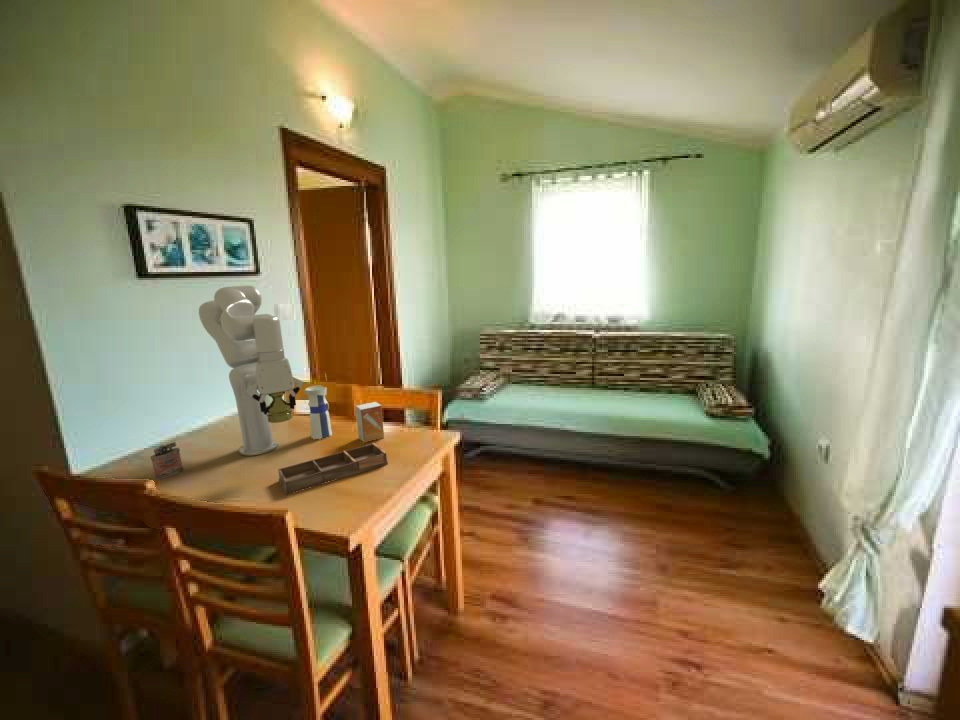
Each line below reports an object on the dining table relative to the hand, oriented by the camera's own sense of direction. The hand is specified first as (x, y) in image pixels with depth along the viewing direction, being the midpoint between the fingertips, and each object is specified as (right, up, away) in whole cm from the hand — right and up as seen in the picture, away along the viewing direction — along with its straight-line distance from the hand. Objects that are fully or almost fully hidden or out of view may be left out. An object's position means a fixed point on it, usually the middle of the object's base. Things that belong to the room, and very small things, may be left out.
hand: (279, 410), depth 138 cm
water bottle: (+2, -14, +32) cm, 35 cm away
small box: (+23, -14, +27) cm, 38 cm away
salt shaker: (0, -3, +1) cm, 3 cm away
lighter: (-37, -21, +4) cm, 43 cm away
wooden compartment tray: (+18, -19, -1) cm, 26 cm away
